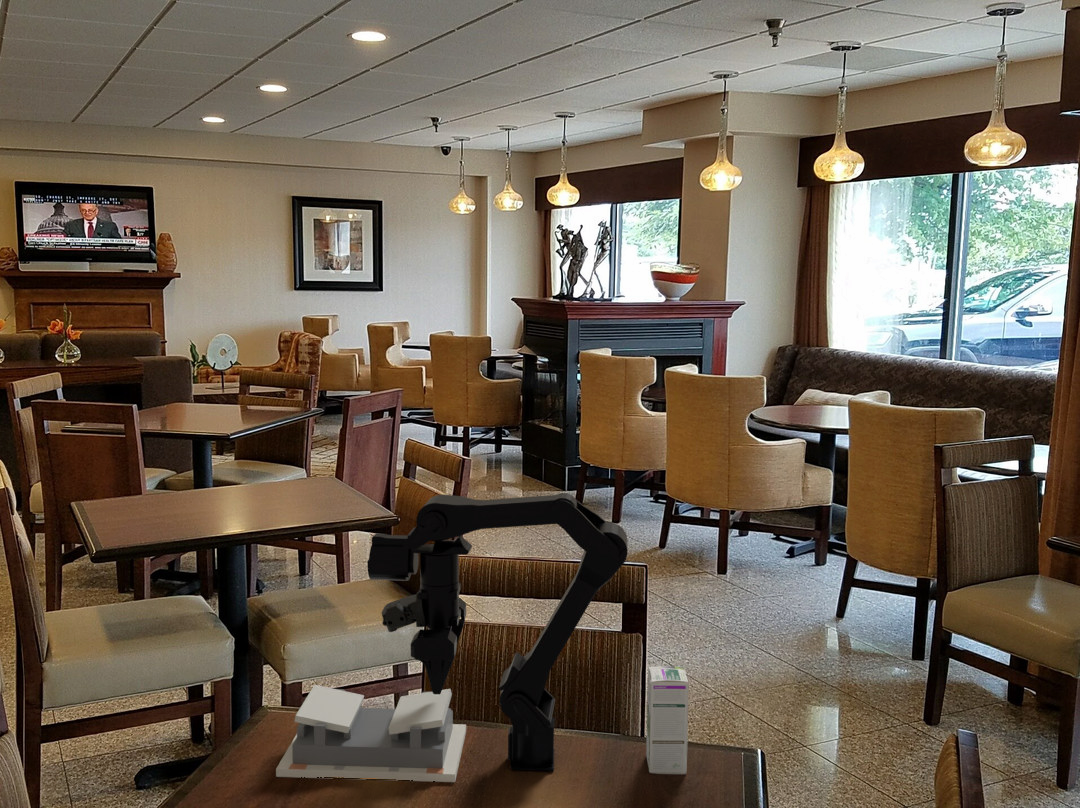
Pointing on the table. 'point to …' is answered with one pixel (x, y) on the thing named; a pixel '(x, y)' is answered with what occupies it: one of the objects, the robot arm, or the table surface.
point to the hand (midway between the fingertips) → (440, 681)
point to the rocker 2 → (420, 711)
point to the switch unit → (375, 750)
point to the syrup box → (667, 720)
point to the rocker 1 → (330, 708)
